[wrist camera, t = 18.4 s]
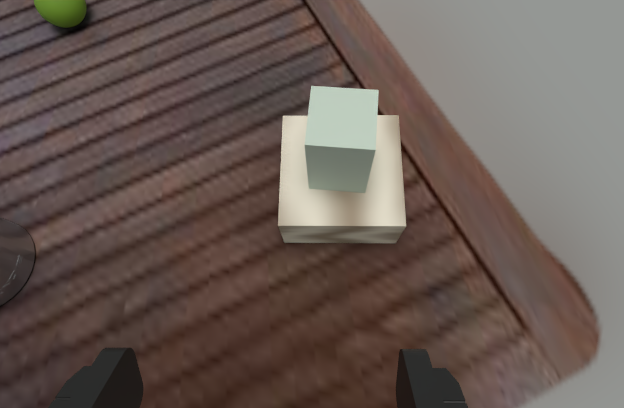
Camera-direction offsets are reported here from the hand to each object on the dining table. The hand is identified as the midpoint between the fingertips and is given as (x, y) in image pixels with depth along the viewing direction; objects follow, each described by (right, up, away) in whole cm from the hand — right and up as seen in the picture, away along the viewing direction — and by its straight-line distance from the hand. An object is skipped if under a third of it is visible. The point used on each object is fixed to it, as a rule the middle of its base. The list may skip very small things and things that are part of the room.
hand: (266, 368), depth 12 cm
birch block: (+4, +6, +30) cm, 31 cm away
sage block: (+4, +9, +24) cm, 26 cm away
